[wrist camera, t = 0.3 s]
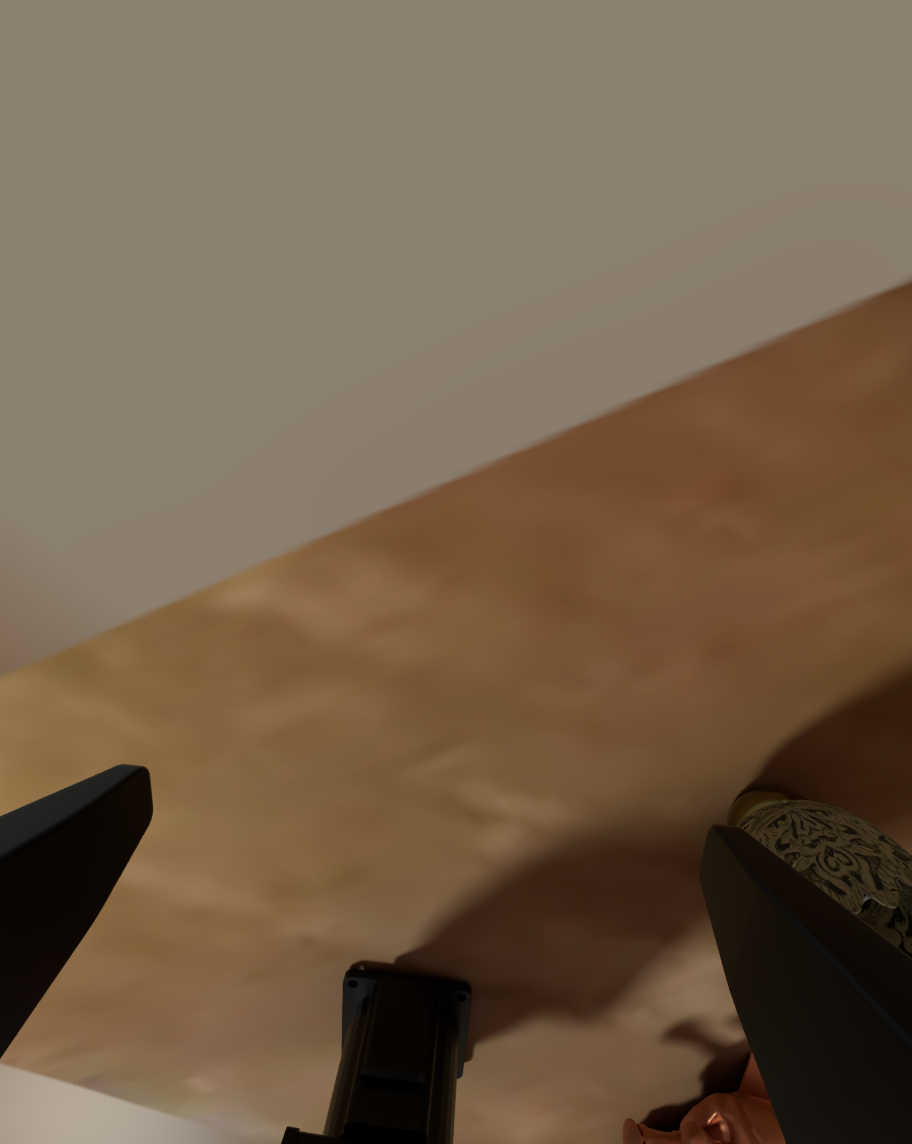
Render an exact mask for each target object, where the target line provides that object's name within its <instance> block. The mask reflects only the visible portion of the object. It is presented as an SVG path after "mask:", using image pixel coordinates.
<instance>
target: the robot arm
mask: <svg viewBox="0 0 912 1144" xmlns="http://www.w3.org/2000/svg"><path fill="white" fill-rule="evenodd" d="M152 815H153V801H152V791H151V780H150V773H149V771H148V769H147V768H146V767H144V766H137V765H128V764H121V765H117V766H115V767H113V768H110V769H108V770H106V771H104V772H101V773H99V774H97V775H94V776H92V777H90V778H87V779H85V780H83V781H80V782H78V783H76V784H74V785H71V786H69V787H67V788H64V789H62V790H60V791H57V792H55V793H53V794H51V795H48V796H46V797H44V798H41V799H39V800H37V801H34V802H32V803H30V804H28V805H25V806H23V807H21V808H18V809H16V810H14V811H11V812H9V813H7V814H4V815H2V816H0V1058H1V1057H2V1055H3V1054H4V1053H5V1051H6V1050H7V1048H8V1047H9V1045H10V1044H11V1042H12V1041H13V1039H14V1038H15V1036H16V1035H17V1034H18V1032H19V1031H20V1029H21V1028H22V1026H23V1025H24V1023H25V1022H26V1020H27V1019H28V1018H29V1016H30V1015H31V1013H32V1012H33V1010H34V1009H35V1007H36V1006H37V1004H38V1003H39V1001H40V1000H41V999H42V997H43V996H44V994H45V993H46V991H47V990H48V988H49V987H50V985H51V984H52V983H53V981H54V980H55V978H56V977H57V975H58V974H59V972H60V971H61V969H62V968H63V966H64V965H65V964H66V962H67V961H68V959H69V958H70V956H71V955H72V953H73V952H74V950H75V949H76V948H77V946H78V945H79V943H80V942H81V940H82V939H83V937H84V936H85V934H86V933H87V931H88V930H89V928H90V927H91V925H92V924H93V922H94V921H95V919H96V918H97V916H98V914H99V913H100V911H101V909H102V908H103V906H104V904H105V903H106V901H107V899H108V897H109V896H110V894H111V892H112V890H113V888H114V887H115V885H116V883H117V881H118V880H119V878H120V876H121V874H122V872H123V871H124V869H125V867H126V865H127V864H128V862H129V860H130V858H131V856H132V855H133V853H134V851H135V849H136V848H137V846H138V844H139V842H140V840H141V839H142V837H143V835H144V833H145V832H146V830H147V828H148V826H149V824H150V822H151V819H152ZM699 874H700V883H701V887H702V891H703V894H704V898H705V902H706V905H707V909H708V913H709V917H710V920H711V924H712V928H713V932H714V935H715V939H716V943H717V947H718V950H719V954H720V958H721V962H722V965H723V969H724V973H725V976H726V980H727V983H728V986H729V990H730V993H731V996H732V999H733V1002H734V1004H735V1007H736V1010H737V1013H738V1016H739V1018H740V1021H741V1024H742V1026H743V1029H744V1032H745V1034H746V1037H747V1040H748V1042H749V1045H750V1048H751V1051H752V1053H753V1056H754V1059H755V1061H756V1064H757V1067H758V1069H759V1072H760V1075H761V1077H762V1080H763V1083H764V1086H765V1088H766V1091H767V1094H768V1096H769V1099H770V1102H771V1104H772V1107H773V1110H774V1112H775V1115H776V1118H777V1121H778V1123H779V1126H780V1129H781V1131H782V1134H783V1137H784V1139H785V1142H786V1144H912V958H911V957H909V956H908V955H907V954H905V953H904V952H903V951H901V950H900V949H899V948H898V947H896V946H895V945H894V944H892V943H891V942H890V941H888V940H887V939H886V938H884V937H883V936H882V935H881V934H879V933H878V932H877V931H875V930H874V929H873V928H871V927H870V926H869V925H867V924H866V923H865V922H864V921H862V920H861V919H860V918H858V917H857V916H856V915H854V914H853V913H852V912H850V911H849V910H848V909H847V908H845V907H844V906H843V905H841V904H840V903H839V902H837V901H836V900H835V899H833V898H832V897H831V896H830V895H828V894H827V893H826V892H824V891H823V890H822V889H820V888H819V887H818V886H816V885H815V884H814V883H813V882H811V881H810V880H809V879H807V878H806V877H805V876H803V875H802V874H801V873H799V872H798V871H797V870H796V869H794V868H793V867H792V866H790V865H789V864H788V863H786V862H785V861H784V860H782V859H781V858H780V857H779V856H777V855H776V854H775V853H773V852H772V851H771V850H769V849H768V848H767V847H765V846H764V845H763V844H762V843H760V842H759V841H758V840H756V839H755V838H754V837H752V836H751V835H750V834H748V833H747V832H746V831H745V830H743V829H742V828H740V827H737V826H730V825H720V824H714V825H712V826H711V827H710V828H709V830H708V833H707V837H706V842H705V846H704V850H703V854H702V859H701V863H700V871H699ZM471 994H472V990H471V987H470V986H469V985H468V984H466V983H463V982H456V981H448V980H439V979H431V978H423V977H415V976H407V975H399V974H391V973H383V972H375V971H367V970H359V969H350V970H348V971H347V972H346V973H345V977H344V981H343V1005H342V1055H341V1060H340V1064H339V1068H338V1072H337V1076H336V1081H335V1085H334V1089H333V1093H332V1098H331V1102H330V1106H329V1110H328V1115H327V1119H326V1123H325V1127H324V1132H323V1135H319V1134H313V1133H307V1132H301V1131H300V1128H295V1127H289V1126H287V1128H286V1131H285V1134H284V1137H283V1140H282V1142H281V1144H453V1136H454V1118H455V1101H456V1083H457V1079H459V1078H460V1077H462V1075H463V1067H464V1058H465V1050H466V1041H467V1032H468V1023H469V1015H470V1006H471Z"/></svg>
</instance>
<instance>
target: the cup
mask: <svg viewBox="0 0 912 1144" xmlns="http://www.w3.org/2000/svg"><path fill="white" fill-rule="evenodd" d="M727 825H730V826H737V827H740V828H742V829H743V830H745V831H746V832H747V833H748V834H750V835H751V836H752V837H754V838H755V839H756V840H758V841H759V842H760V843H762V844H763V845H764V846H765V847H767V848H768V849H769V850H771V851H772V852H773V853H775V854H776V855H777V856H779V857H780V858H781V859H782V860H784V861H785V862H786V863H788V864H789V865H790V866H792V867H793V868H794V869H796V870H797V871H798V872H799V873H801V874H802V875H803V876H805V877H806V878H807V879H809V880H810V881H811V882H813V883H814V884H815V885H816V886H818V887H819V888H820V889H822V890H823V891H824V892H826V893H827V894H828V895H830V896H831V897H832V898H833V899H835V900H836V901H837V902H839V903H840V904H841V905H843V906H844V907H845V908H847V909H848V910H849V911H850V912H852V913H853V914H854V915H856V916H857V917H858V918H860V919H861V920H862V921H864V922H865V923H866V924H867V925H869V926H870V927H871V928H873V929H874V930H875V931H877V932H878V933H879V934H881V935H882V936H883V937H884V938H886V939H887V940H888V941H890V942H891V943H892V944H894V945H895V946H896V947H898V948H899V949H900V950H901V951H903V952H904V953H905V954H907V955H908V956H909V957H911V958H912V856H911V855H910V854H909V853H908V852H907V851H905V850H904V849H903V848H902V847H901V846H899V845H898V844H897V843H896V842H895V841H893V840H892V839H891V838H890V837H888V836H887V835H886V834H884V833H883V832H882V831H880V830H879V829H877V828H876V827H875V826H873V825H872V824H870V823H869V822H867V821H865V820H864V819H862V818H861V817H859V816H857V815H855V814H853V813H851V812H849V811H847V810H844V809H842V808H839V807H837V806H834V805H830V804H827V803H823V802H818V801H811V800H807V799H806V798H804V797H803V796H801V795H799V794H797V793H795V792H793V791H791V790H788V789H785V788H781V787H773V786H771V787H761V788H757V789H754V790H751V791H749V792H747V793H745V794H744V795H742V796H741V797H740V798H739V799H737V800H736V802H735V803H734V804H733V805H732V807H731V809H730V811H729V814H728V818H727Z"/></svg>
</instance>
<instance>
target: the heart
mask: <svg viewBox="0 0 912 1144" xmlns="http://www.w3.org/2000/svg"><path fill="white" fill-rule="evenodd" d="M623 1144H786V1142H785V1139H784V1137H783V1134H782V1131H781V1129H780V1126H779V1123H778V1121H777V1118H776V1115H775V1112H774V1110H773V1107H772V1104H771V1102H770V1099H769V1096H768V1094H767V1091H766V1088H765V1086H764V1083H763V1080H762V1077H761V1075H760V1072H759V1069H758V1067H757V1064H756V1061H755V1059H754V1056H753V1053H752V1051H751V1052H750V1057H749V1060H748V1063H747V1066H746V1069H745V1073H744V1076H743V1079H742V1082H741V1085H740V1088H739V1092H734V1093H715V1094H712V1095H709V1096H707V1097H706V1098H705V1099H703V1100H702V1101H701V1102H700V1103H699V1104H697V1105H696V1106H694V1107H693V1108H692V1109H691V1110H690V1111H689V1112H688V1114H687V1115H686V1116H685V1117H684V1118H683V1120H682V1121H681V1124H680V1129H679V1131H672V1132H663V1131H662V1130H657V1129H651V1128H648V1127H647V1126H646V1125H644V1124H636V1123H635V1121H634V1120H633V1119H631V1118H628V1119H626V1120H625V1122H624V1126H623Z"/></svg>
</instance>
